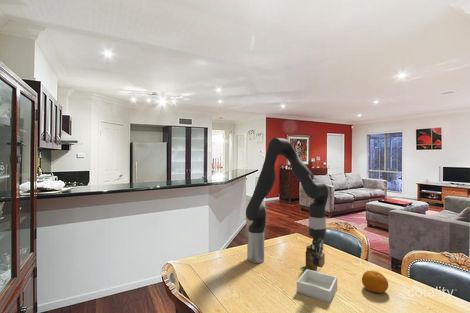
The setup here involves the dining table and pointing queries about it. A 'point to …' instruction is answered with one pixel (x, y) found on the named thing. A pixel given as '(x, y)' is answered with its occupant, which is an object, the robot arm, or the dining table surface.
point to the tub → (317, 285)
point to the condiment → (309, 261)
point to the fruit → (374, 281)
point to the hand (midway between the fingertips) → (317, 262)
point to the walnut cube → (319, 259)
